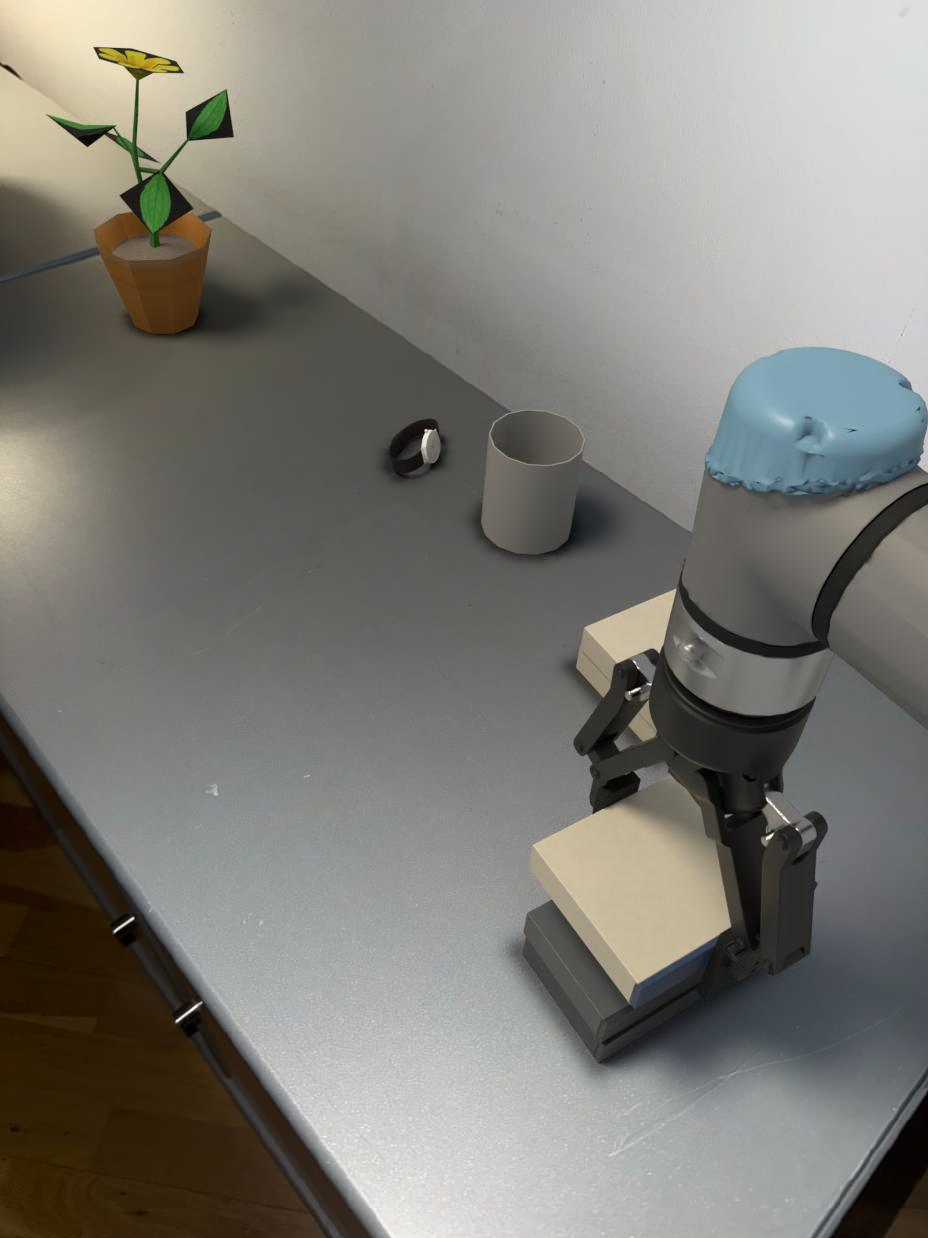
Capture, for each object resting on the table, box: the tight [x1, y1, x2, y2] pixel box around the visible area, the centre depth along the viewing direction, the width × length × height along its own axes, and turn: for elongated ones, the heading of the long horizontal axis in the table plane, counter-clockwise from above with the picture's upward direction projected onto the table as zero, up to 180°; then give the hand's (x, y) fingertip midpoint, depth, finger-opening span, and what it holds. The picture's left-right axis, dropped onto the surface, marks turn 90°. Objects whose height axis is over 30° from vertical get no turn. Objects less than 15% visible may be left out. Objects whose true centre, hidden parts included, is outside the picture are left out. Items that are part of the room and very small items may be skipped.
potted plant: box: [45, 46, 235, 335], centre depth 114 cm, size 18×19×30 cm
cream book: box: [528, 774, 819, 1009], centre depth 64 cm, size 10×13×2 cm
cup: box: [480, 409, 586, 556], centre depth 98 cm, size 8×8×10 cm
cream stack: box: [575, 588, 677, 742], centre depth 87 cm, size 10×13×5 cm
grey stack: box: [522, 899, 706, 1063], centre depth 70 cm, size 9×13×5 cm, turn 122°
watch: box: [387, 418, 441, 474], centre depth 107 cm, size 8×5×4 cm, turn 159°
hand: (658, 912), depth 67 cm, fingers closed on cream book, 10 cm apart
